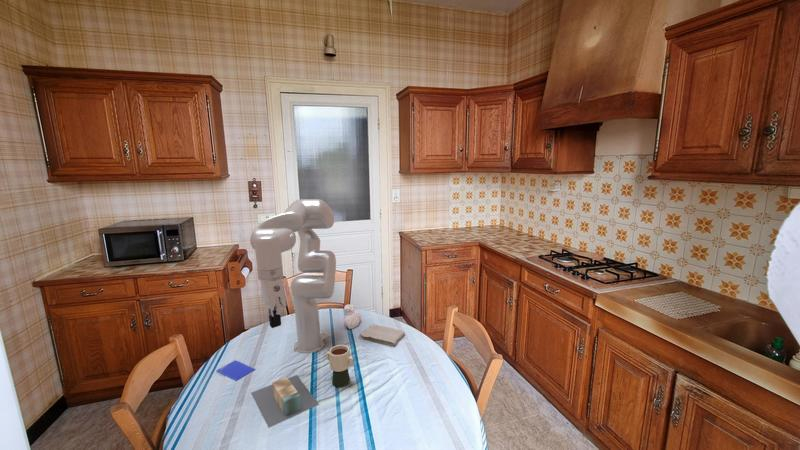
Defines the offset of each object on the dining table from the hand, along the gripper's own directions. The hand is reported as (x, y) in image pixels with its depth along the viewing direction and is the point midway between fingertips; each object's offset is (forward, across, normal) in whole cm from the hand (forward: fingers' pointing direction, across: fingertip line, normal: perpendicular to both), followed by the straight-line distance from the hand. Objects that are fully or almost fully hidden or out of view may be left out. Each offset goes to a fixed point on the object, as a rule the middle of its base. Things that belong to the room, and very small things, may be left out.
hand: (275, 325), depth 112 cm
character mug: (+26, -8, -18) cm, 32 cm away
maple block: (+22, 0, 0) cm, 22 cm away
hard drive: (+26, +24, +9) cm, 37 cm away
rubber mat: (+25, -4, +1) cm, 25 cm away
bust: (+26, +29, -44) cm, 59 cm away
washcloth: (+27, +10, -49) cm, 56 cm away
